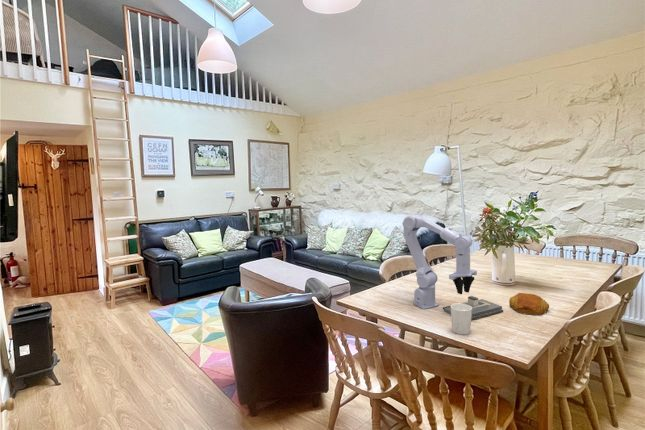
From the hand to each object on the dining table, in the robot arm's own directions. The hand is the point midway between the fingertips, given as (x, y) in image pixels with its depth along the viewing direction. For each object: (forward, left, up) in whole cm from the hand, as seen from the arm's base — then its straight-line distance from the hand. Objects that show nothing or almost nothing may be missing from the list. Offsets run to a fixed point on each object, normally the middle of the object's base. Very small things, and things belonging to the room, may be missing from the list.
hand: (463, 292), depth 157 cm
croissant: (+28, -11, -10) cm, 31 cm away
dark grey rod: (+6, +8, -9) cm, 13 cm away
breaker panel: (+6, 0, -9) cm, 11 cm away
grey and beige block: (+6, 0, -8) cm, 10 cm away
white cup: (-14, -13, -10) cm, 22 cm away
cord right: (+6, -7, -9) cm, 13 cm away
